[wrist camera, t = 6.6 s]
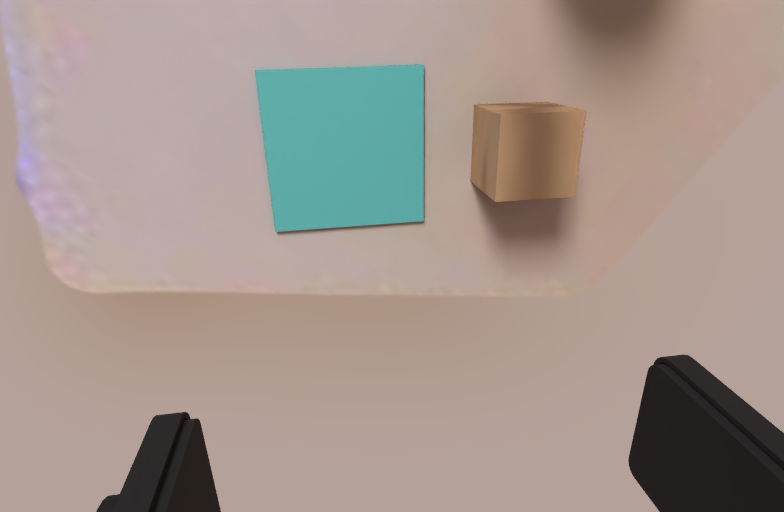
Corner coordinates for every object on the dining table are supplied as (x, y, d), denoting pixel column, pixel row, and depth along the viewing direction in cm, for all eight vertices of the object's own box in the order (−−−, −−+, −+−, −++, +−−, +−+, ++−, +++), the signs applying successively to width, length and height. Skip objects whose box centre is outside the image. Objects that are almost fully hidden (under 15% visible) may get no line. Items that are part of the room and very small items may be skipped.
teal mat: (422, 64, 36) (423, 65, 36) (422, 219, 41) (423, 221, 41) (255, 70, 35) (254, 70, 34) (275, 230, 39) (275, 231, 39)
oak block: (547, 101, 39) (586, 110, 33) (540, 176, 41) (575, 197, 36) (473, 104, 38) (500, 114, 32) (470, 181, 40) (495, 202, 35)
